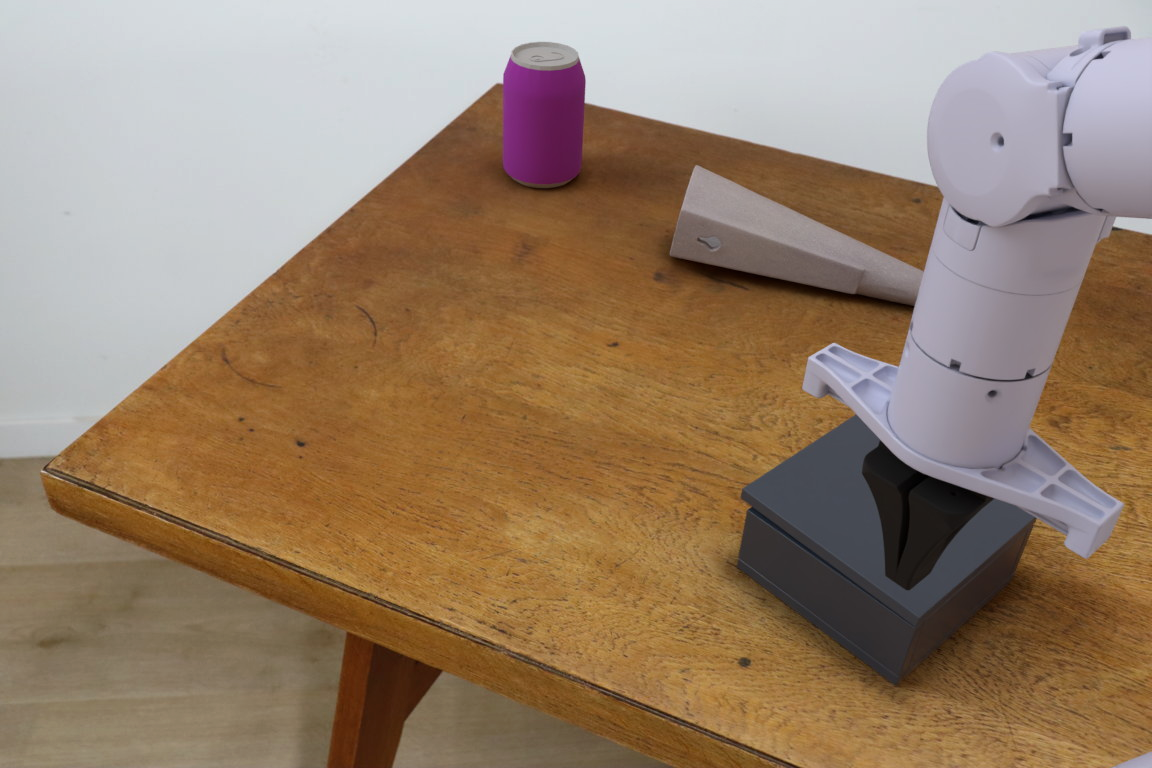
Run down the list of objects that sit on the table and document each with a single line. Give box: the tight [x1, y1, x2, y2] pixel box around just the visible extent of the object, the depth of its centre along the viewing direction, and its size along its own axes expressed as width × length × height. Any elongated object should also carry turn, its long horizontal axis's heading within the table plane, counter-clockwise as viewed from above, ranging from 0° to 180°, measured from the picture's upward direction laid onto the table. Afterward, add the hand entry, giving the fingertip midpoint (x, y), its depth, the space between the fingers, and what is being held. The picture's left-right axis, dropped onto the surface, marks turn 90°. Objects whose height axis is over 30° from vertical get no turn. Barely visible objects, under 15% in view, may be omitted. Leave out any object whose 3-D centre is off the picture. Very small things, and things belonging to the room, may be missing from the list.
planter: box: [669, 164, 924, 307], centre depth 94 cm, size 8×9×26 cm
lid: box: [740, 414, 1038, 627], centre depth 64 cm, size 12×12×1 cm
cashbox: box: [736, 506, 1035, 687], centre depth 66 cm, size 12×12×5 cm
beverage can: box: [502, 41, 587, 189], centre depth 105 cm, size 8×8×12 cm
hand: (907, 573), depth 53 cm, fingers closed
